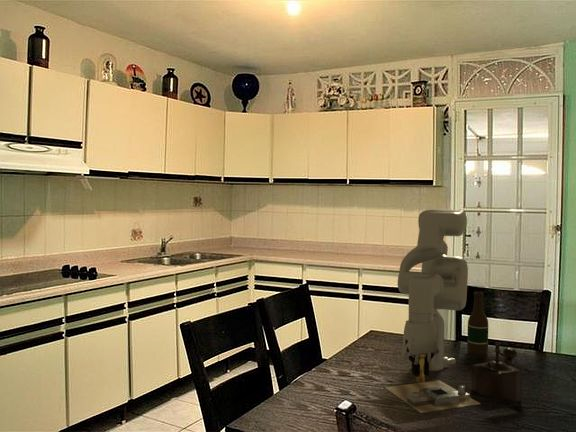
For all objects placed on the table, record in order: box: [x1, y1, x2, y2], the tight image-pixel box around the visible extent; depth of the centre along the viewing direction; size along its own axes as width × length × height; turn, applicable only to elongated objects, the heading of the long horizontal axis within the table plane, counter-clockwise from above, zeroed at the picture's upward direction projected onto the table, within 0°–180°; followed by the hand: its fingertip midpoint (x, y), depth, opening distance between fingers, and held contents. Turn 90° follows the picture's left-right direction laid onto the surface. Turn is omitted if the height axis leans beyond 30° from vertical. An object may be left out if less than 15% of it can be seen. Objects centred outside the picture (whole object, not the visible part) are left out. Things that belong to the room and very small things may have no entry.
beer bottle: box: [466, 291, 489, 357], centre depth 203 cm, size 8×8×24 cm
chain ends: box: [407, 385, 471, 407], centre depth 152 cm, size 19×8×3 cm, turn 109°
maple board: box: [385, 379, 482, 414], centre depth 156 cm, size 20×20×2 cm
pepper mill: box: [471, 343, 523, 404], centre depth 155 cm, size 16×11×18 cm
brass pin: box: [415, 354, 426, 383], centre depth 162 cm, size 3×3×9 cm
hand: (420, 374), depth 162 cm, fingers closed on brass pin, 2 cm apart
